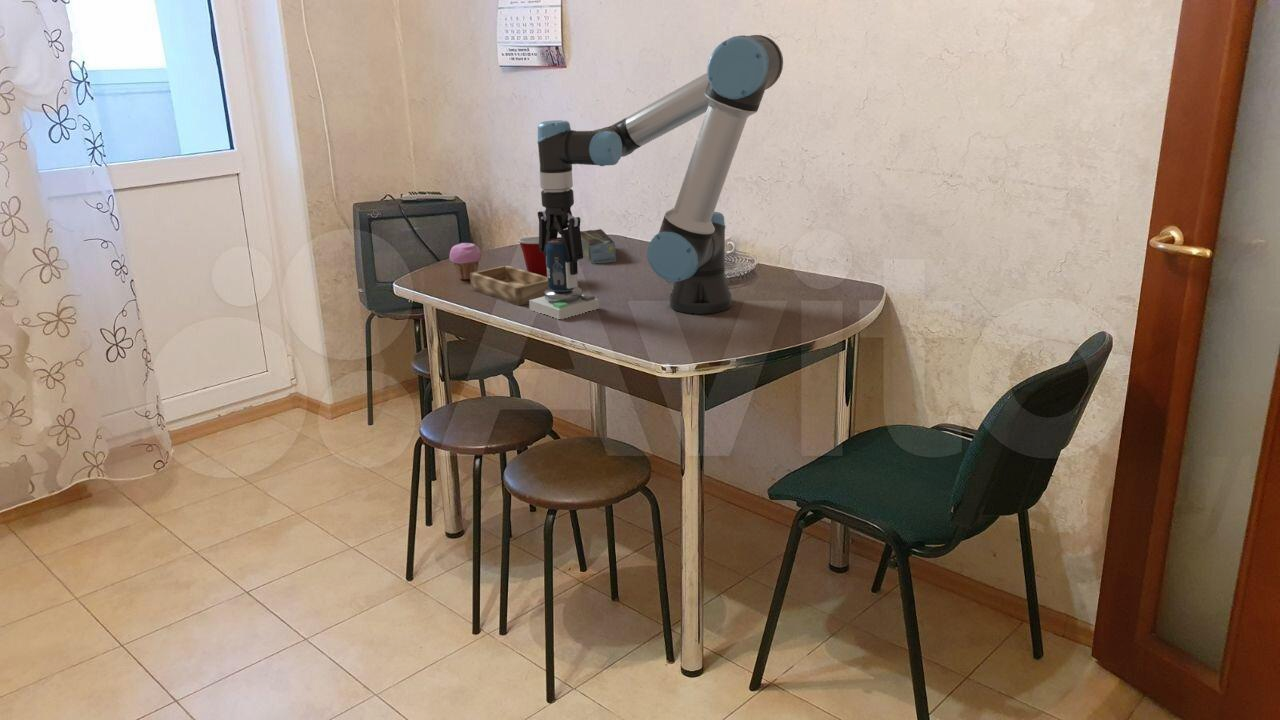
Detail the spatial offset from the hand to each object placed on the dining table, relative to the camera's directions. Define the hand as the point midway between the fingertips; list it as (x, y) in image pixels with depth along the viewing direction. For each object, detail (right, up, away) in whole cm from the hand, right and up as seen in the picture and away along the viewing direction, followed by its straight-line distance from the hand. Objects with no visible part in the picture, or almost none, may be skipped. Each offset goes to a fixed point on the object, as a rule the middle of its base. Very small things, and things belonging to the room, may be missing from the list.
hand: (562, 284), depth 226 cm
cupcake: (-29, +4, +33) cm, 44 cm away
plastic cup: (-8, +3, +28) cm, 29 cm away
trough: (-14, -1, +18) cm, 23 cm away
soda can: (0, -1, 0) cm, 1 cm away
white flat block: (0, -6, +2) cm, 6 cm away
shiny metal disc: (0, -3, +1) cm, 3 cm away
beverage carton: (+6, +12, +53) cm, 55 cm away
